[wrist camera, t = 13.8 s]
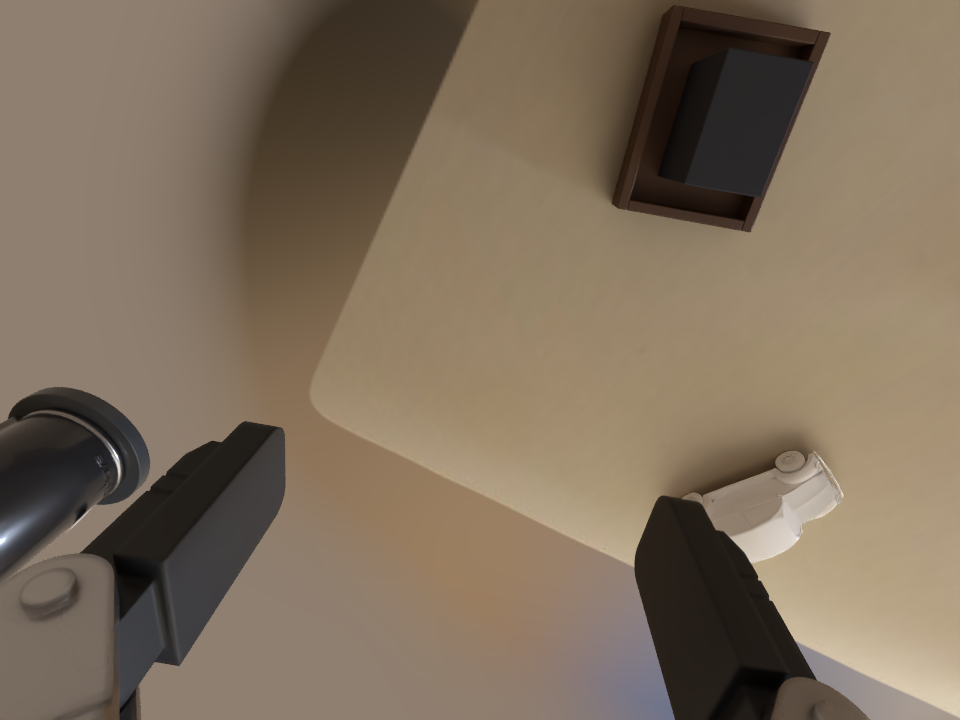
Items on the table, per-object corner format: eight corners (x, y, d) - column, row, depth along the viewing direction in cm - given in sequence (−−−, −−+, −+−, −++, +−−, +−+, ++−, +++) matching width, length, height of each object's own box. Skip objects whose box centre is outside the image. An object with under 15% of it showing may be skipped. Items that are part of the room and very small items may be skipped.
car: (699, 549, 42) (718, 594, 38) (663, 503, 40) (679, 545, 36) (838, 489, 38) (876, 532, 34) (805, 435, 36) (841, 474, 32)
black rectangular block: (657, 176, 29) (683, 184, 24) (691, 63, 27) (729, 46, 22) (721, 187, 29) (761, 198, 24) (762, 76, 27) (815, 61, 22)
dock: (611, 203, 31) (616, 208, 29) (662, 14, 26) (673, 4, 24) (737, 226, 31) (751, 232, 29) (809, 40, 26) (831, 32, 24)
